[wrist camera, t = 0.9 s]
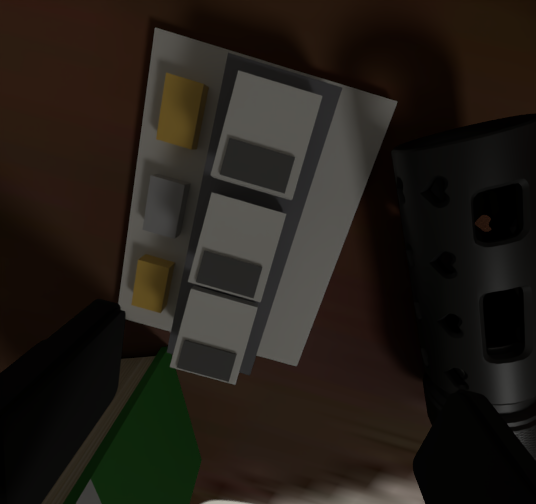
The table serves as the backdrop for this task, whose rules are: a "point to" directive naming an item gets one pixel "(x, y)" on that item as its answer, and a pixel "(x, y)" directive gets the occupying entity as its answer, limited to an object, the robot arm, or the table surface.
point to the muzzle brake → (474, 263)
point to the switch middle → (236, 247)
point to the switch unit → (240, 192)
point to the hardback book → (136, 443)
